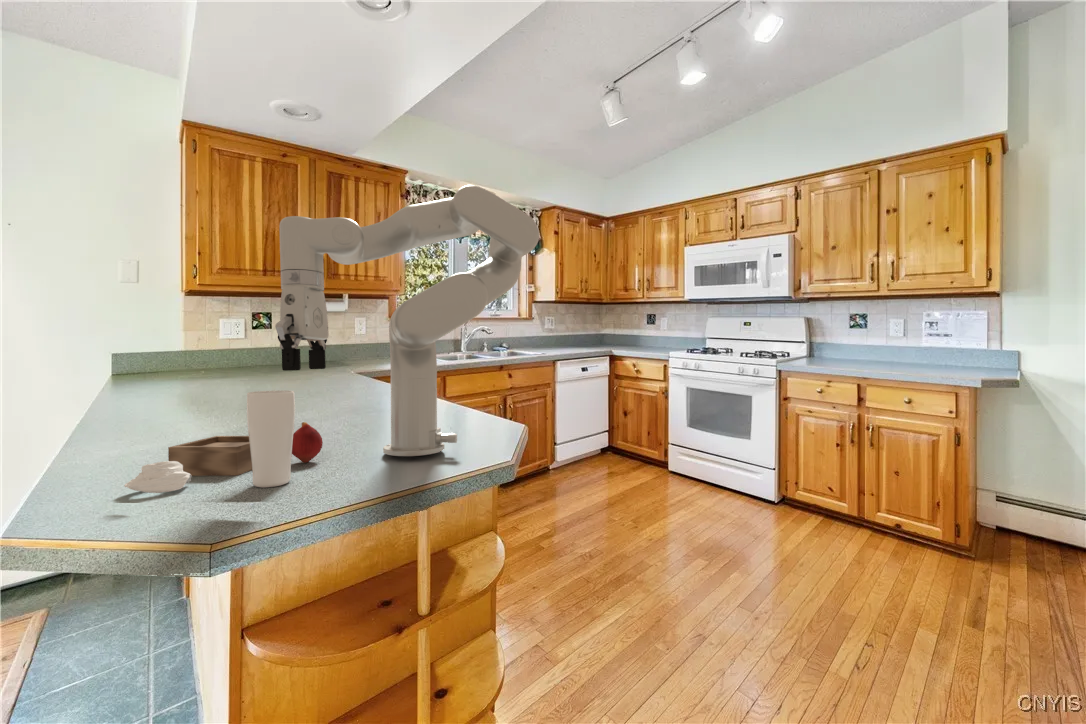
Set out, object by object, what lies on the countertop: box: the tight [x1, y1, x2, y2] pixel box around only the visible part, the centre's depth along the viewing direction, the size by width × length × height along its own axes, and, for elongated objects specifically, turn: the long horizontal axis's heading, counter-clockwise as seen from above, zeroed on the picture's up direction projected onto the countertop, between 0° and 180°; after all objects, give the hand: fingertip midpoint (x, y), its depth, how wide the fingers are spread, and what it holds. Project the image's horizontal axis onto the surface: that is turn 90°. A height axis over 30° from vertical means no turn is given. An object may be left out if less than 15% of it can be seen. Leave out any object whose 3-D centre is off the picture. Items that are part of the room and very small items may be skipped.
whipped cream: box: [124, 460, 193, 494], centre depth 72 cm, size 8×7×5 cm
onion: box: [292, 421, 324, 464], centre depth 91 cm, size 6×6×8 cm
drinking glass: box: [246, 390, 296, 488], centre depth 76 cm, size 7×7×15 cm
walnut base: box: [167, 435, 252, 477], centre depth 87 cm, size 12×12×5 cm
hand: (305, 369), depth 92 cm, fingers open, 9 cm apart
